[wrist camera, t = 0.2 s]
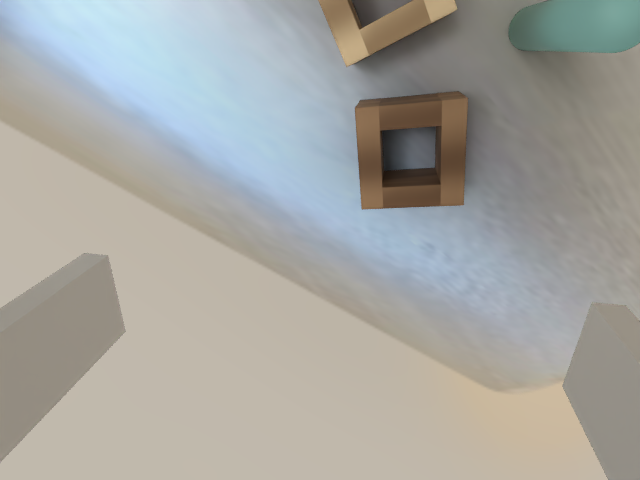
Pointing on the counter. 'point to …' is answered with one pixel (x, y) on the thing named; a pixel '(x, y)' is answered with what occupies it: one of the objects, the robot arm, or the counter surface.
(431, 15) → the light wooden square frame
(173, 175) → the counter surface
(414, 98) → the brown wooden square frame
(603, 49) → the teal cylindrical rod
